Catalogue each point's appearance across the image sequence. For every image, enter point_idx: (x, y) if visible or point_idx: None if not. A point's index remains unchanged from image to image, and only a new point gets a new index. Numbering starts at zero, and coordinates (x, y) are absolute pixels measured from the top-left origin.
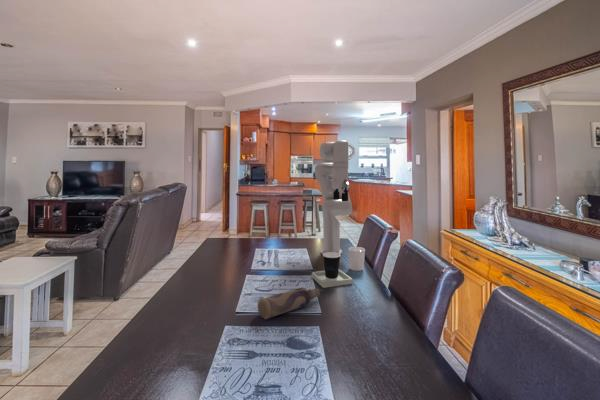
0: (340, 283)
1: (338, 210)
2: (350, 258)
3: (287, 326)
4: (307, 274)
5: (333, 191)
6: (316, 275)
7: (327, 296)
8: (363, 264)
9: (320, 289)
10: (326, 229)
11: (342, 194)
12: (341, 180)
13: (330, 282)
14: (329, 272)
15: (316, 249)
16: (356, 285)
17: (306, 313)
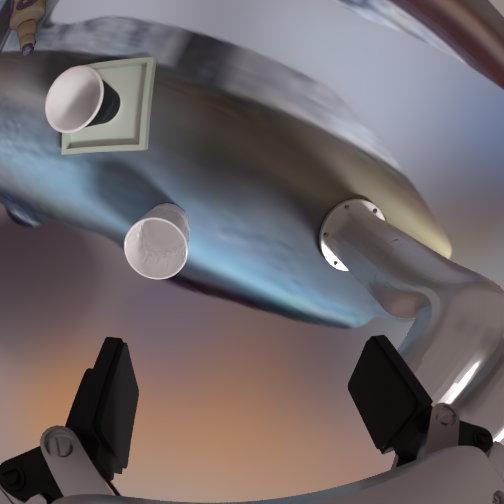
0: None
1: (412, 344)
2: (156, 209)
3: (3, 4)
4: (181, 55)
5: (442, 407)
6: (121, 63)
7: (36, 71)
8: (152, 246)
9: (22, 50)
10: (396, 241)
11: (81, 410)
12: None
13: None
14: (83, 91)
15: (404, 209)
16: (56, 158)
17: None
